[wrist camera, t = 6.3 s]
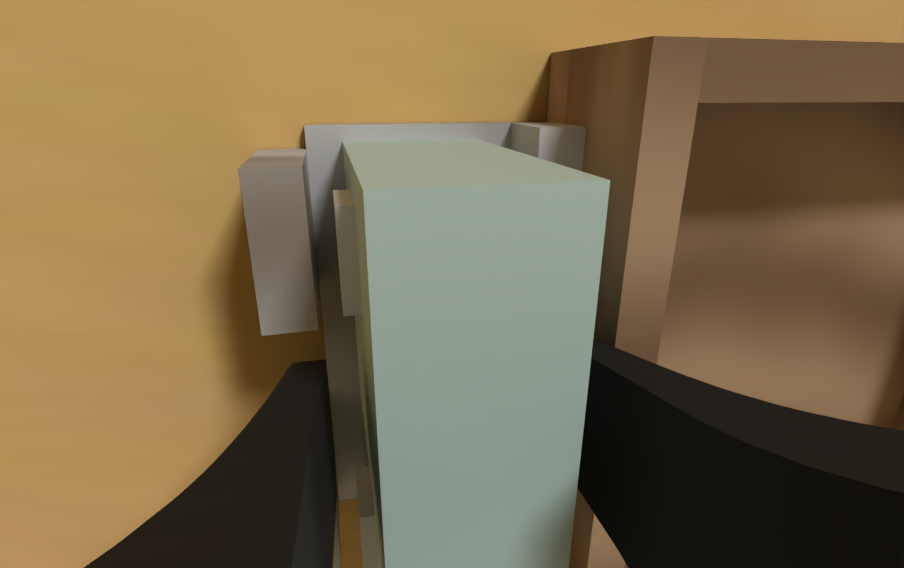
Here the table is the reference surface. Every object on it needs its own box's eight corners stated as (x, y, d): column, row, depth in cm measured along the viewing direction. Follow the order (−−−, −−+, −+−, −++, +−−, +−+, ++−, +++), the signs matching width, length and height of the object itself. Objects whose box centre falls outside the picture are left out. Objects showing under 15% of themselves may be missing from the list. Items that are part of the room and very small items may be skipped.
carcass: (874, 437, 19) (1002, 518, 16) (307, 540, 15) (303, 685, 11) (1005, 61, 15) (1227, 52, 11) (245, 47, 10) (204, 23, 7)
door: (471, 460, 15) (557, 674, 9) (355, 479, 14) (375, 721, 9) (476, 139, 12) (610, 180, 6) (328, 141, 11) (335, 191, 6)
